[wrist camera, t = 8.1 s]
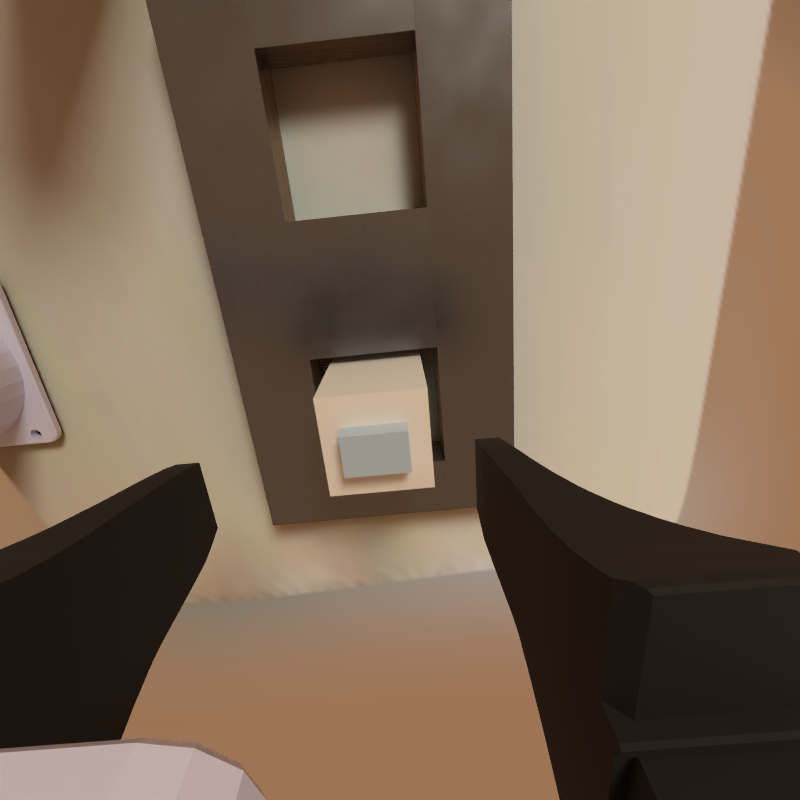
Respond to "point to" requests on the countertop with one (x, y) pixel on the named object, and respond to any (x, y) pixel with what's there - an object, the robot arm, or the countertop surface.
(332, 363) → the plug
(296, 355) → the panel
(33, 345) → the countertop surface
